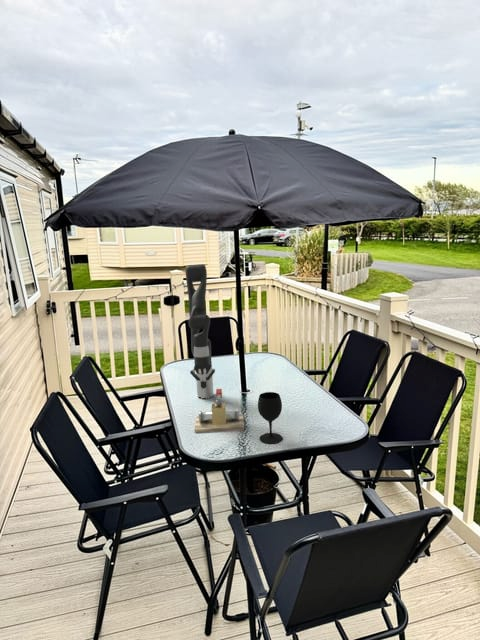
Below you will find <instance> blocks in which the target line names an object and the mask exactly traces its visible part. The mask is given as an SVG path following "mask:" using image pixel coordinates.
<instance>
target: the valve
mask: <svg viewBox="0 0 480 640" xmlns="http://www.w3.org/2000/svg"><path fill="white" fill-rule="evenodd" d="M226 407H227V405H226V402H222V405H221V406H216V405H215V402H214V403H212V404H211V411H201V410H199V411H198V416H199V423H202V422H204V424H208V421H212V422H213V425H215V424H226V420H231V423H235V420H237V421H239V414H240V409H239V408H236V410H227V409H226Z"/></svg>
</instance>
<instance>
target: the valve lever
mask: <svg viewBox="0 0 480 640" xmlns="http://www.w3.org/2000/svg"><path fill="white" fill-rule="evenodd" d="M215 398H216V399H215V400H214V403H215V405H216V406H221V405H222V403H223V400H222V399H223V389H222V388H216V390H215Z"/></svg>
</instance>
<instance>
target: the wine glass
mask: <svg viewBox="0 0 480 640" xmlns="http://www.w3.org/2000/svg"><path fill="white" fill-rule="evenodd" d="M258 396H259V397H258V401H257V410H258V413H259V415H260V416H261V417H262V418H263V420H265V421H267V422H268V424H269V432H267V433H263V434H260V436H259V441H260V442H261V443H263V444H265V445H266V444H267V445H275V444H279V443H280V442H282V441H283V440H284V438H283V436H282V435H281V434H280V433H277V432H273V429H272V428H273V422H274V421H275V420H277V419H278V418H279V416H280V415H281V412H282V409H283V404H282V398H281V396H280V394H279V393H278V392H274V391H267V392H262V393H260V394H259V395H258Z"/></svg>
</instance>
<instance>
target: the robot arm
mask: <svg viewBox="0 0 480 640" xmlns="http://www.w3.org/2000/svg"><path fill="white" fill-rule="evenodd" d="M207 271H208V270H207V268H206V265H205V264H202V263H201V264H188V265H186V266H185V272H184V273H185V280H186V287H187V294H188V295H187V296H188V297H187V298H188V314H189V319H188V327H189V328H190V334H191V335H190V336H191V337H190V339H191V340H190V341H191V342H190V343H191V344H190V345H191V347H190V348H191V354H192V356H193V361H194V362H193V363H194V366H193V368H192V369H191V370H190V371H189V373H190V375H192V377H193V378H194V379H195V380H196V395H198V396H197V398H198V397H201V398H200V399H202V398H206V399H209V398H208V397H211V398H213V397H214V396H213V395H214V382H213V381H214V380H213V376H214V374H215V372H216V369H215V368H213V366H212V365H213V364H212V363H213V362H212V341H211V340H210V339H209V338H208V337H209V330H210V325H211V318H210V316H209V315H208V314H207V307H206V306H207V305H206V293H207V280H208V279H207V278H208V277H207V276H208V272H207ZM199 282H200V283H199ZM193 283H199V285H198V287H197V288H195V286H194V284H193ZM200 330H202V332H200ZM212 396H213V397H212Z"/></svg>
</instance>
